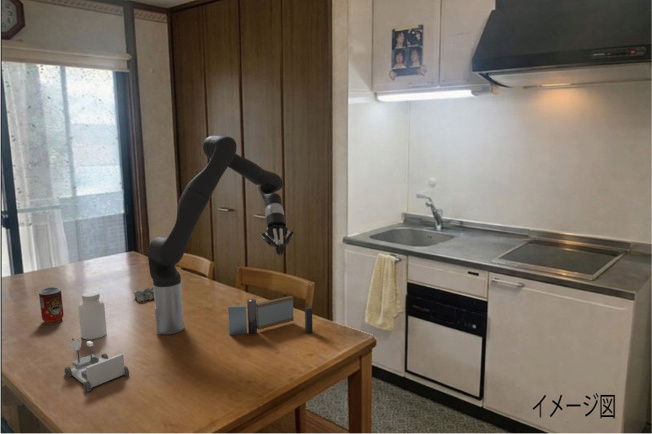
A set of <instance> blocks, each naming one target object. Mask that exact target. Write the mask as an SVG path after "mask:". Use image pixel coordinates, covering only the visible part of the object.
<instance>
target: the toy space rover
mask: <svg viewBox="0 0 652 434" xmlns="http://www.w3.org/2000/svg"><path fill="white" fill-rule="evenodd" d="M82 340H83V339H81V338H78V339H75V340H74V338H72V341H70V342H69V343H68V344H67V345H66V346H67V348H68V349H70V350H72V351H74V352H76V354H77V359H75V360H73V361H71V362H72V363H71V364H72V365H73V368H70V367H69V366H66V367H64V374H65V376H66V377H67V378H70V377H74V378H75V379H77V380H78V381H79V382H80V383H82V384H83V389H84V390H85V391H86V392H87V393H90V392H91V391H92V388H94V387H97V386H100V385H102V384H103V383H107V382H109V381H110V380H114V379H116V378H119V377H121V376H124V377H128V376H129V375H130V371H129V367H128V366H126V365H125V359H124V354H123V353H119V354H116V355H115V356H112V357H109V355H108V354H107V353H102V354H101V358H99V357H97V356H96V354H93V353H92V347H94V342H93V341H91V340H88V341H86V346H88V347H89V355H86V356H84V357H80V351H79V350H80V349H81V347H82Z"/></svg>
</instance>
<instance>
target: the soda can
mask: <svg viewBox="0 0 652 434" xmlns="http://www.w3.org/2000/svg"><path fill="white" fill-rule="evenodd" d="M38 297H39V304H40V313H41V319H42V321H43V322H44V324H46V325H50V324H51V325H53V324H57V323H60V322H61V321H63V318H64V305H63V297H62V289H60V288H59V287H52V286H51V287H46V288H43V289H41V290H40V291H39V293H38Z"/></svg>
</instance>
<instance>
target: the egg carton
mask: <svg viewBox="0 0 652 434" xmlns="http://www.w3.org/2000/svg"><path fill="white" fill-rule="evenodd" d="M133 294H134V299H135V300H136V301H137V302H138V301H139V302H141V301H143V302H145V301H151V299H152V300H153V299H154V287H150V288H149V287H147V288H144V289H136V290H135V291H134V292H133ZM148 299H149V300H148Z"/></svg>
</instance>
